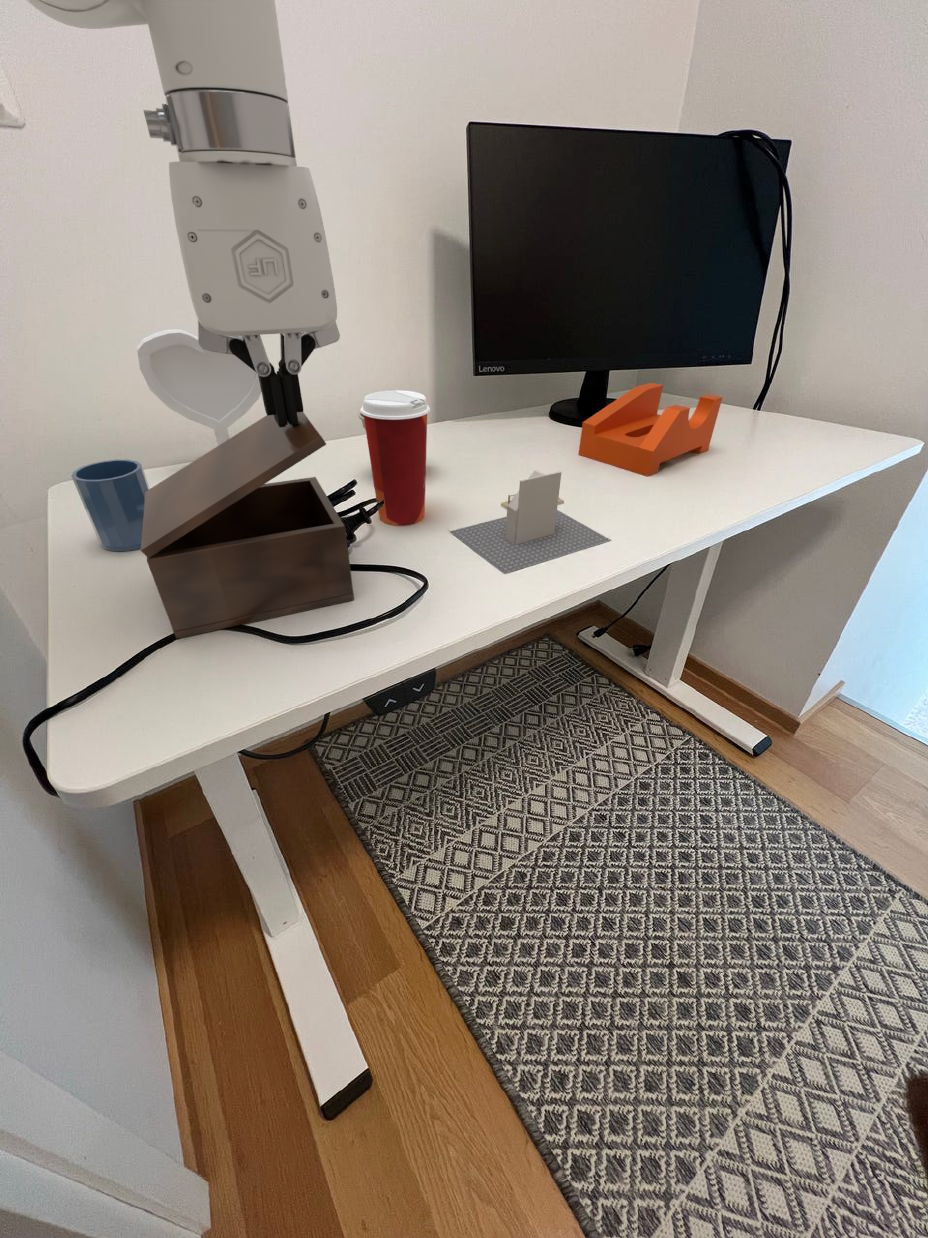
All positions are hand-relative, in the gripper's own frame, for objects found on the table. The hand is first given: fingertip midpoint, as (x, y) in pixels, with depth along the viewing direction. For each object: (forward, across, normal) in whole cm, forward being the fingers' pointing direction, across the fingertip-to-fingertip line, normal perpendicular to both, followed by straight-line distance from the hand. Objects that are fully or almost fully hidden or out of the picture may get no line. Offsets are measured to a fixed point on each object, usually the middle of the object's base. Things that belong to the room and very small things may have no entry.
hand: (286, 421), depth 47 cm
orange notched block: (+16, +57, +18) cm, 62 cm away
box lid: (+4, -5, 0) cm, 7 cm away
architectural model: (+16, +25, -1) cm, 29 cm away
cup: (+15, -17, +16) cm, 28 cm away
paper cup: (+15, +13, +10) cm, 22 cm away
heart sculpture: (+15, -5, +37) cm, 40 cm away
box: (+15, -5, 0) cm, 16 cm away
